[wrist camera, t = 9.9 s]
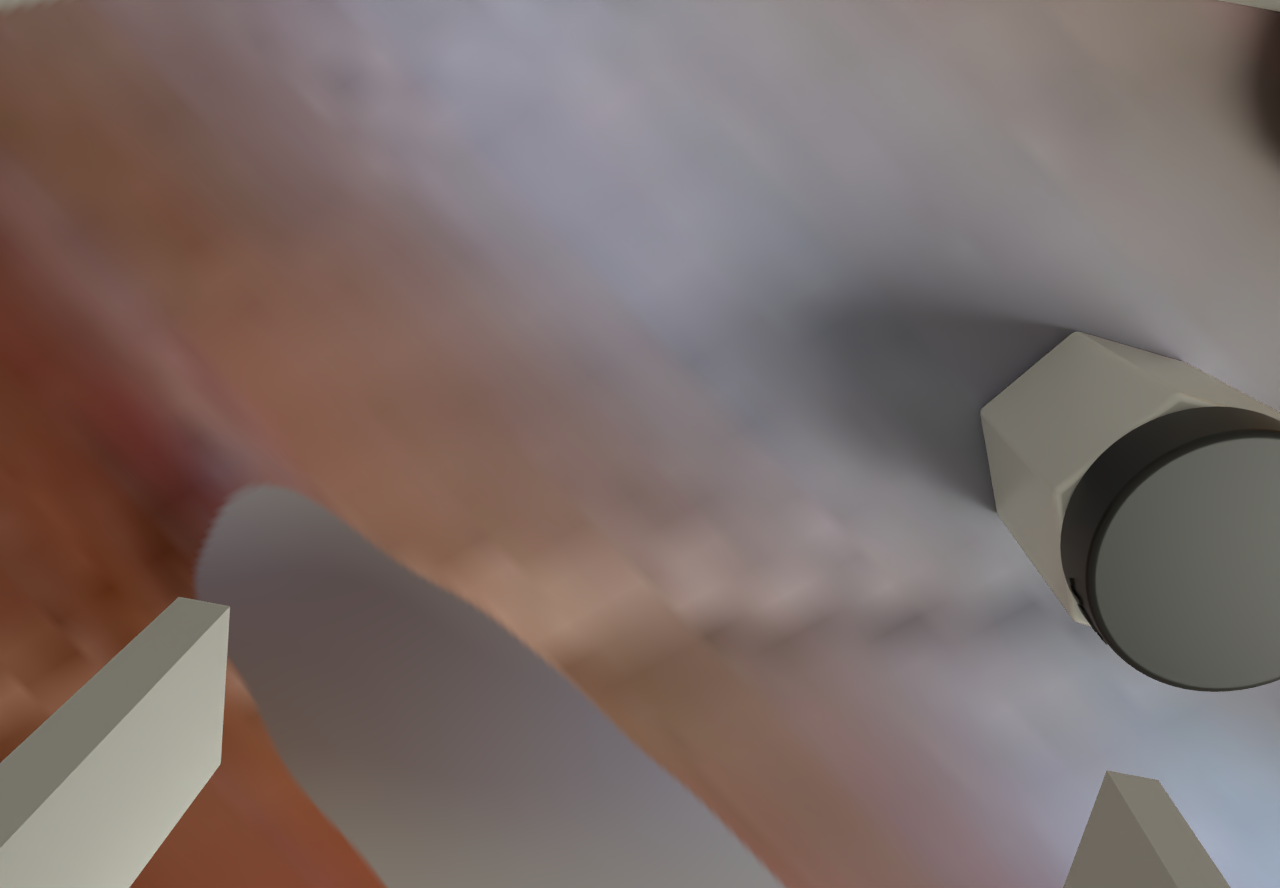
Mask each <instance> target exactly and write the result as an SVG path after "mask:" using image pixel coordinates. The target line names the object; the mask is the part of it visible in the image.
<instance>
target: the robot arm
mask: <svg viewBox="0 0 1280 888" xmlns="http://www.w3.org/2000/svg"><path fill="white" fill-rule="evenodd" d="M229 615H230V606H225V605H220V604H214V603H208V602H204V601H198V600H193V599H188V598H182V597H178V598H177V599H176V600H175V601H174V602H173V603H172V604H171V605H170V606H169V607H167V608H166V609H165V610H164V611H163V612H162V613H161V614H160V615H159V616H158V617H157V618H156V619H155V620H154V621H152V622H151V623H150V624H149V625H148V626H147V627H146V628H145V629H144V630H143V631H142V632H141V633H140V634H138V635H137V636H136V637H135V638H134V639H133V640H132V641H131V642H130V643H129V644H128V645H127V646H126V647H125V648H123V649H122V650H121V651H120V652H119V653H118V654H117V655H116V656H115V657H114V658H113V659H112V660H111V661H109V662H108V663H107V664H106V665H105V666H104V667H103V668H102V669H101V670H100V671H99V672H98V673H97V674H96V675H94V676H93V677H92V678H91V679H90V680H89V681H88V682H87V683H86V684H85V685H84V686H83V687H82V688H81V689H79V690H78V691H77V692H76V693H75V694H74V695H73V696H72V697H71V698H70V699H69V700H68V701H67V702H65V703H64V704H63V705H62V706H61V707H60V708H59V709H58V710H57V711H56V712H55V713H54V714H53V715H52V716H50V717H49V718H48V719H47V720H46V721H45V722H44V723H43V724H42V725H41V726H40V727H39V728H38V729H36V730H35V731H34V732H33V733H32V734H31V735H30V736H29V737H28V738H27V739H26V740H25V741H24V742H23V743H21V744H20V745H19V746H18V747H17V748H16V749H15V750H14V751H13V752H12V753H11V754H10V755H9V756H7V757H6V758H5V759H4V760H3V761H2V762H1V763H0V888H129V887H130V886H131V885H132V883H133V882H134V881H135V879H136V878H137V876H138V875H139V874H140V872H141V871H142V870H143V868H144V867H145V866H146V864H147V863H148V862H149V860H150V859H151V857H152V856H153V855H154V853H155V852H156V851H157V849H158V848H159V847H160V845H161V844H162V843H163V841H164V840H165V838H166V837H167V836H168V834H169V833H170V832H171V830H172V829H173V828H174V826H175V825H176V824H177V822H178V821H179V819H180V818H181V817H182V815H183V814H184V813H185V811H186V810H187V809H188V807H189V806H190V805H191V803H192V802H193V800H194V799H195V798H196V796H197V795H198V794H199V792H200V791H201V790H202V788H203V787H204V786H205V784H206V783H207V781H208V780H209V779H210V777H211V776H212V775H213V773H214V772H215V771H216V769H217V768H218V767H219V765H220V764H221V748H222V732H223V715H224V698H225V682H226V665H227V648H228V630H229ZM1063 888H1230V886H1229V885H1228V883H1227V882H1226V880H1225V879H1224V877H1223V876H1222V874H1221V873H1220V871H1219V870H1218V868H1217V867H1216V865H1215V864H1214V862H1213V861H1212V859H1211V858H1210V856H1209V855H1208V853H1207V852H1206V850H1205V849H1204V847H1203V846H1202V845H1201V843H1200V842H1199V840H1198V839H1197V837H1196V836H1195V834H1194V833H1193V831H1192V830H1191V828H1190V827H1189V825H1188V824H1187V822H1186V821H1185V819H1184V818H1183V816H1182V815H1181V813H1180V812H1179V810H1178V809H1177V807H1176V806H1175V804H1174V803H1173V801H1172V800H1171V798H1170V797H1169V796H1168V794H1167V793H1166V791H1165V790H1164V788H1163V787H1162V785H1161V784H1160V782H1159V781H1158V780H1155V779H1149V778H1144V777H1139V776H1133V775H1128V774H1123V773H1117V772H1112V771H1107V772H1106V774H1105V777H1104V780H1103V782H1102V785H1101V788H1100V790H1099V793H1098V796H1097V799H1096V801H1095V804H1094V807H1093V809H1092V812H1091V815H1090V817H1089V820H1088V823H1087V825H1086V828H1085V831H1084V833H1083V836H1082V839H1081V842H1080V844H1079V847H1078V850H1077V852H1076V855H1075V858H1074V860H1073V863H1072V866H1071V868H1070V871H1069V874H1068V876H1067V879H1066V882H1065V885H1064V887H1063Z"/></svg>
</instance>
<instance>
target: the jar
mask: <svg viewBox="0 0 1280 888" xmlns="http://www.w3.org/2000/svg"><path fill="white" fill-rule="evenodd" d="M980 415H981V421H982V427H983V433H984V438H985V444H986V450H987V456H988V462H989V468H990V474H991V480H992V485H993V491H994V498H995V504H996V510H997V514H998V516H999V517H1000V519H1001V520H1002V521H1003V523H1004V524H1005V526H1006V527H1007V528H1008V530H1009V531H1010V533H1011V534H1012V536H1013V537H1014V538H1015V540H1016V541H1017V543H1018V544H1019V545H1020V547H1021V548H1022V550H1023V551H1024V552H1025V554H1026V555H1027V557H1028V558H1029V559H1030V561H1031V562H1032V564H1033V565H1034V566H1035V568H1036V569H1037V571H1038V572H1039V573H1040V575H1041V576H1042V578H1043V579H1044V580H1045V582H1046V583H1047V585H1048V586H1049V587H1050V589H1051V590H1052V592H1053V593H1054V594H1055V596H1056V597H1057V599H1058V600H1059V601H1060V603H1061V604H1062V606H1063V607H1064V608H1065V610H1066V611H1067V613H1068V614H1069V615H1070V617H1071V618H1072V619H1073V620H1074V621H1075V622H1077V623H1081V624H1084V625H1088V626H1091V627H1092V628H1093V629H1094V631H1095V632H1097V634H1098V635H1099V636H1100V638H1101V639H1102V640H1103V641H1104V642H1105V643H1106V644H1108V645H1109V646H1110V647H1111V648H1112V649H1113V651H1114V652H1115V653H1116V654H1117V655H1118V656H1120V657H1121V658H1122V659H1123V660H1124V661H1125V662H1127V663H1128V664H1129V665H1131V666H1132V667H1133V668H1135V669H1136V670H1138V671H1140V672H1141V673H1143V674H1145V675H1147V676H1148V677H1151V678H1153V679H1155V680H1157V681H1160V682H1162V683H1165V684H1168V685H1171V686H1175V687H1179V688H1183V689H1189V690H1196V691H1210V692H1219V691H1234V690H1243V689H1248V688H1253V687H1258V686H1261V685H1265V684H1268V683H1271V682H1274V681H1277V680H1280V412H1279V411H1277V410H1275V409H1273V408H1271V407H1269V406H1267V405H1265V404H1263V403H1262V402H1260V401H1258V400H1256V399H1254V398H1252V397H1250V396H1248V395H1246V394H1245V393H1243V392H1241V391H1239V390H1237V389H1235V388H1233V387H1231V386H1229V385H1228V384H1226V383H1224V382H1222V381H1220V380H1218V379H1216V378H1214V377H1213V376H1211V375H1209V374H1207V373H1205V372H1203V371H1201V370H1199V369H1197V368H1196V367H1194V366H1192V365H1190V364H1188V363H1186V362H1182V361H1179V360H1175V359H1172V358H1169V357H1165V356H1162V355H1158V354H1155V353H1151V352H1148V351H1144V350H1141V349H1137V348H1134V347H1131V346H1127V345H1124V344H1120V343H1117V342H1113V341H1110V340H1106V339H1103V338H1100V337H1096V336H1093V335H1089V334H1086V333H1082V332H1074V333H1072V334H1070V335H1069V336H1068V337H1067V338H1065V339H1064V340H1063V341H1062V342H1061V343H1059V344H1058V345H1057V346H1056V347H1055V348H1053V349H1052V350H1051V351H1050V352H1049V353H1047V354H1046V355H1045V356H1044V357H1043V358H1041V359H1040V360H1039V361H1038V362H1037V363H1035V364H1034V365H1033V366H1032V367H1031V368H1029V369H1028V370H1027V371H1026V372H1025V373H1023V374H1022V375H1021V376H1020V377H1019V378H1017V379H1016V380H1015V381H1014V382H1013V383H1011V384H1010V385H1009V386H1008V387H1007V388H1005V389H1004V390H1003V391H1002V392H1001V393H999V394H998V395H997V396H996V397H995V398H993V399H992V400H991V401H990V402H989V403H987V404H986V405H985V406H984V407H983V408H982V409H981V412H980Z"/></svg>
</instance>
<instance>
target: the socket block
mask: <svg viewBox="0 0 1280 888" xmlns="http://www.w3.org/2000/svg"><path fill="white" fill-rule="evenodd" d="M1220 1H1225V2H1230V3H1235V4H1241V5H1246V6H1251V7H1256V8H1262V9H1267V10H1272V11H1277V12H1280V0H1220Z"/></svg>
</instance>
